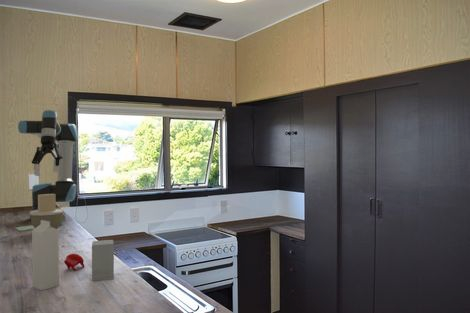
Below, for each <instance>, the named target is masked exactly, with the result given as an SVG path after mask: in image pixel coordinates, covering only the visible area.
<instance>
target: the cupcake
mask: <svg viewBox="0 0 470 313" xmlns="http://www.w3.org/2000/svg"><path fill="white" fill-rule="evenodd" d="M61 206H62V205H59V208H58V209H62V207H61ZM65 219H66V215H65V214H63V215H62V221H61V224H60V226H62V225H63V223H64V221H65Z"/></svg>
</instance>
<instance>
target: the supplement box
mask: <svg viewBox="0 0 470 313" xmlns="http://www.w3.org/2000/svg"><path fill="white" fill-rule="evenodd" d="M114 243H115V242H114V239H104V240H93V241H92V244H91V282H97V281H98V282H99V281H110V280H114V279H115V278H114V274H115V272H114V271H115V270H114V268H115V265H114V264H115V263H114V261H115V260H114V259H115V254H114V253H115V252H114V251H115V248H114V246H115V245H114Z"/></svg>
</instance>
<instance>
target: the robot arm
mask: <svg viewBox="0 0 470 313" xmlns="http://www.w3.org/2000/svg"><path fill="white" fill-rule="evenodd" d="M17 124H18V125H17V129H18V132H19V133H20V134H31V135H33V136H34V135H35V136H37V137H38V138H40V144H41V146H37V147H36V150H35V153H34V155H33V159H32V161H31V164H34V165H33V166H34V168H33V170H34V176H36V177H40V173H41V172H40V170H41V164H40V163H41V162H42V160H43V159H44V157H45V156H46V155H47V154H51V156H52V157H53V158H54V159H53V163H52V164H53V168H52V172H53V173H58V174H57V180H56V181H55V183H54V184H53V183H52V182H45V183H39V184H34V185H33V186H32V189H31V190H32V191H31V194H32V195H31V200H32V203H31V204H32V208H31V211H33V210H38V195H43V194H56V203H69V202H74V200H75V198H76V195H77V187H78V186H77V184H75V182H74V180H73V153H74V145H75V144H76V141H79V135H78V134H79V133H78V128H77V126H76V125H75V124H74V123H59V121H58V113H57V112H56V111H54V110H52V109H51V110H49V109H48V110H47V109H46V110H44V111H43V112H42V115H41V120H20V121H18V123H17ZM29 220H30V221H31V215H30V214H29Z"/></svg>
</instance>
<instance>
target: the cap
mask: <svg viewBox="0 0 470 313" xmlns="http://www.w3.org/2000/svg"><path fill="white" fill-rule="evenodd" d="M63 263H64V264H65V265H66V267H67V270H70V269H72V271H74V272H75V271H76V270H77V269H76V268H75V267H76V266H78V265H79V264H80V265H81V267H85V264H84V258H83V257H82V256H81V255H80V254H76V253H70V254H68V255H67V256H66V258H65V260H64V262H63Z"/></svg>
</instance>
